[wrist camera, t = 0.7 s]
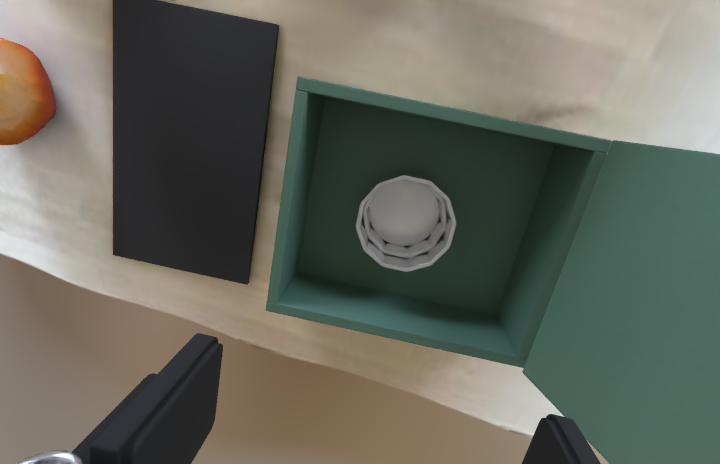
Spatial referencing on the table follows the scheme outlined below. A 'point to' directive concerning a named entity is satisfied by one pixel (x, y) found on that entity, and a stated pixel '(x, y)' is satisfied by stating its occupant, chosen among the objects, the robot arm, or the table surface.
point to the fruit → (23, 94)
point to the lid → (640, 311)
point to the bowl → (405, 221)
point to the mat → (189, 135)
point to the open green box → (472, 213)
